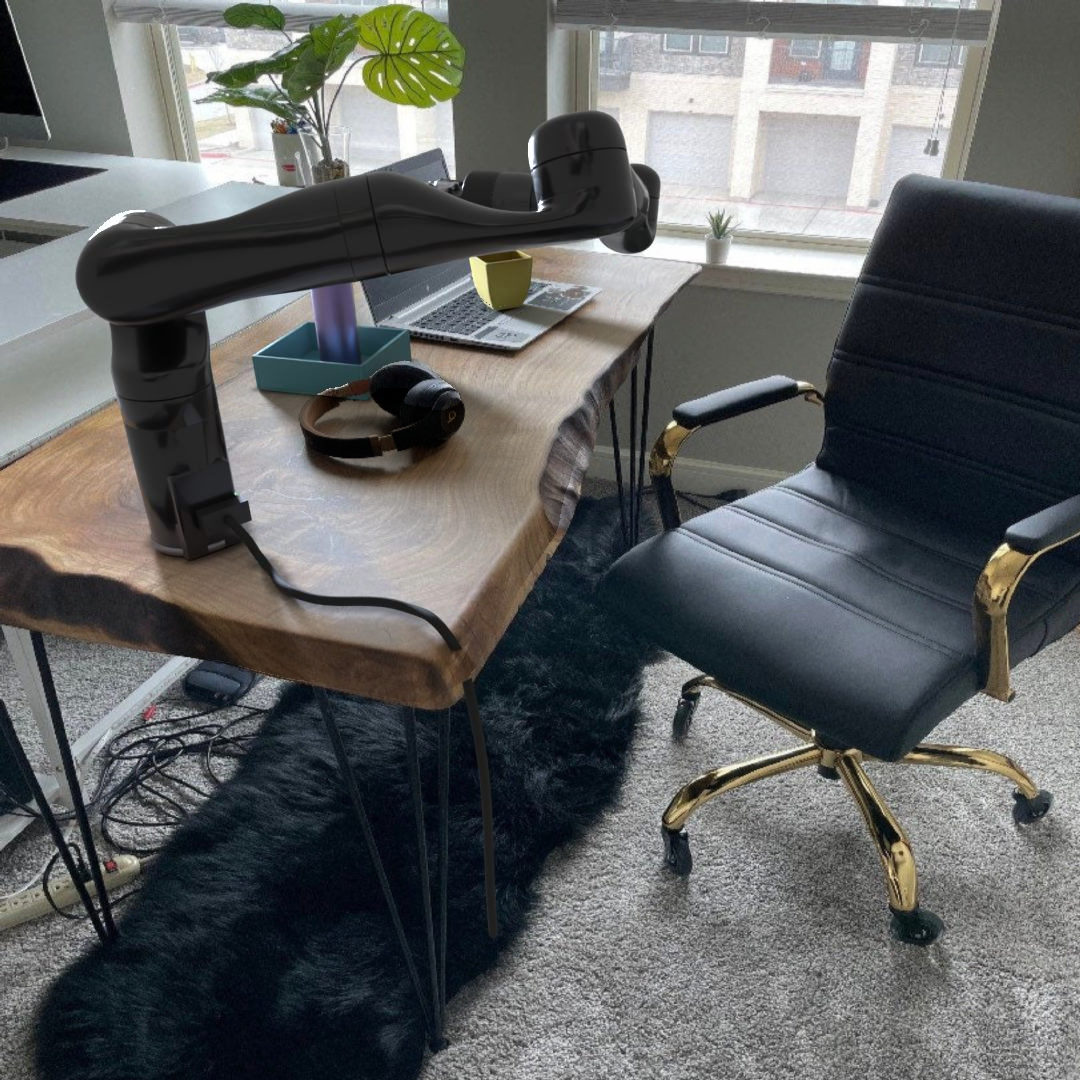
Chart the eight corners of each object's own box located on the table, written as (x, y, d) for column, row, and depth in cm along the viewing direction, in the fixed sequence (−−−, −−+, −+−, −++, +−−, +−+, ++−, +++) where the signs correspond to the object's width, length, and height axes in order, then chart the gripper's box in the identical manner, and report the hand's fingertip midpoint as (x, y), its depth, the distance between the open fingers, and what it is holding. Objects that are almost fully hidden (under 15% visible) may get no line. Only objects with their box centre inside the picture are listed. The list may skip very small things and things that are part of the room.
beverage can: (353, 377, 145) (340, 275, 137) (315, 374, 146) (300, 273, 138) (368, 363, 150) (357, 263, 142) (331, 360, 151) (318, 262, 143)
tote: (411, 361, 152) (409, 329, 149) (366, 400, 138) (362, 366, 136) (311, 351, 156) (306, 320, 154) (257, 389, 143) (251, 356, 140)
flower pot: (470, 303, 177) (467, 252, 172) (515, 296, 180) (513, 245, 175) (489, 316, 170) (486, 263, 165) (535, 309, 173) (534, 257, 168)
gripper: (487, 246, 123) (368, 238, 127) (521, 220, 135) (411, 214, 139) (484, 182, 119) (361, 177, 123) (520, 162, 131) (407, 158, 135)
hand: (388, 197), depth 131 cm, fingers open, 8 cm apart
